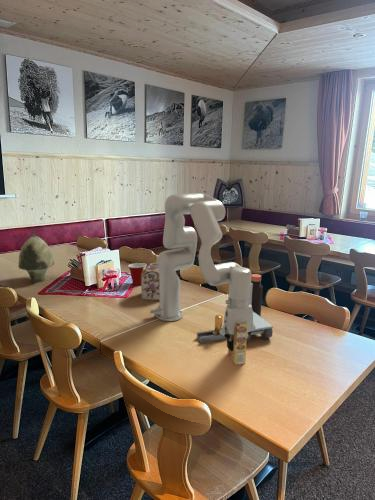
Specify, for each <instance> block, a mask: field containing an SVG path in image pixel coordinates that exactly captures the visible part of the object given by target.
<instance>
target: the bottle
mask: <svg viewBox="0 0 375 500" xmlns="http://www.w3.org/2000/svg"><path fill="white" fill-rule="evenodd" d="M261 282H262V275H260V274H258V273H251V283H252V284H253V288H252V303H251V305H252V311H253V312H255V313H256V314H257V315H259V316H260V317H261V315H262V303H263V301H262V300H263V290H264V289H263V288H264V287H263V284H262V283H261Z"/></svg>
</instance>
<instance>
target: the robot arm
mask: <svg viewBox="0 0 375 500" xmlns="http://www.w3.org/2000/svg"><path fill="white" fill-rule="evenodd" d="M164 214H165V215H164V216H165V218H164V219H165V220H164V228H163V237H162V245H163V247H164V248H165V249H168V250H163V251H162V252H160V253H159V254H158V255H157V257H156V263H157V264H158V270H159V300H158V301H159V302H158V303H159V304H158V305H157V307H156V308H152V309H149V310H148V311H149V314H153V316H156V318H157V319H158V320H160V321H164V322H175V321H178V320H180V319H182V318H183V316H184V313H183V312H182V311H181V309H180V308H181V307H180V306H181V303H180V302H181V301H180V300H181V298H180V297H181V296H180V295H181V279H180V277H179V275H178V274H177V272H176V271H180V270H185V269H189V268H191V267H192V266H193V265H194V262H195V260H196V259H195V257H196V251H197V247H198V245H197V244H198V236H199V239H200V242H201V245H200V246H199V247H200V248H199V251H198V265H199V269H200V271H201V273H202V275H203V278H204V280H205V282H206V283H207V284H208V285H209V286H213V287H215V286H221V285H224V284H229V286H228V299H226V300H225V301H224V302H225V304H226V307H225V312H224V317H223V324H222V328H221V330H220V331H219V333H220V334H221V335H223V336H225V337H226V340H227V341H226V347H227V349H228V348H229V349H230V350H231V351H233V340H232V339H233V335H235V329H236V325H237V324H242V323H246V324H247V338H248V337H249V335H250V334H251V332H252V331H253V330H254V329H255V328H256V327H255V326H254V324H253V311H252V305H250V290H251V275H252V271H251V269H249V268H247V267H242V266H241V265H240V264H238V263H236V262H235V261H234V262H233V261H228V262H222V263H221V262H220V263H218V264H214V262H213V259H212V255H211V249H212V247H213V246H214V245H216V244H217V243H219V242H220V240H221V239H222V238H223V232H222V229H221V227H220V225H219V223H218V222H220V221H222V220H224V218H225V216H226V208H225V205H224V204H223V202H221V201H220V200H218V199H216V198H215V197H213V196H210V195H207V194H205V193H202V192H200V193H199V192H198V193H196V192H193V193H192V192H191V193H177V194H175V193H174V194H171V195H169V196H167V198H166V199H165V202H164ZM185 215H190V216H191V219H192V221H193V223H194V227H195V228H194V227H193V226H190V225H189V226H186V225H185V224H186V223H185V222H186V218H185ZM195 229H196V230H195ZM226 330H227V331H226ZM247 343H248V342H247V340H246V346H247Z"/></svg>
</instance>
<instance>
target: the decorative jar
mask: <svg viewBox="0 0 375 500" xmlns="http://www.w3.org/2000/svg"><path fill="white" fill-rule="evenodd" d="M140 286H141V288H140V289H141V300H147V301H159V270H158V264H157V262H151V263H150V264H149V265H147V266H145V267H144V268H143V270H142V275H141V285H140Z"/></svg>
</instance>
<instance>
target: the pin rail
mask: <svg viewBox="0 0 375 500" xmlns="http://www.w3.org/2000/svg"><path fill="white" fill-rule="evenodd" d="M213 332H215V329H211V330H204V331H199V332H196V339H197V341H199V343H200V344H208V343H213V342H220V341H224V340H225V341H226V340H227V338H226V337H225V336H223V335H221V334H215V335H213Z"/></svg>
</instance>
